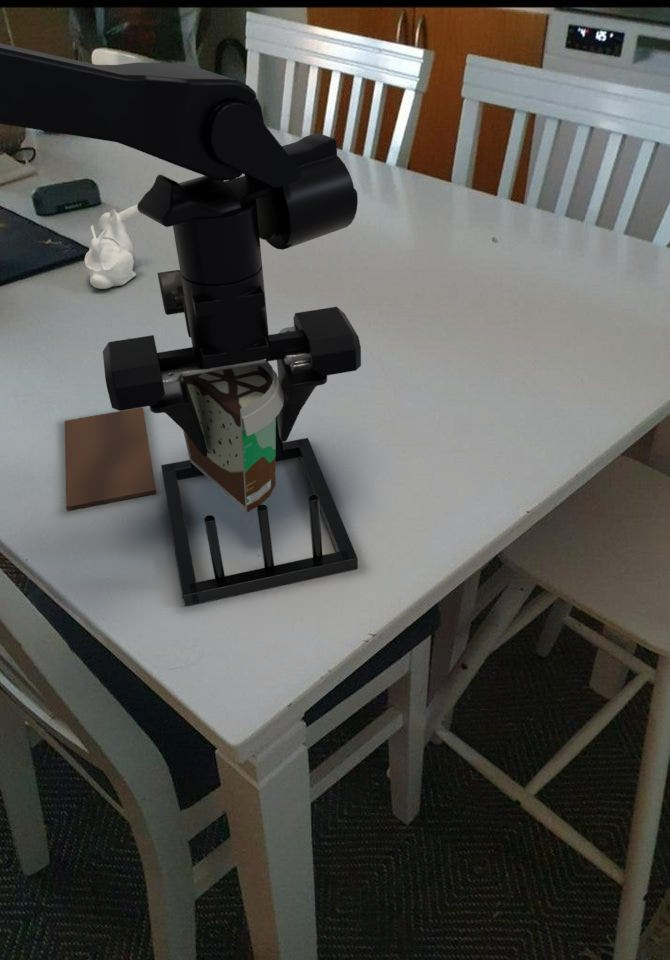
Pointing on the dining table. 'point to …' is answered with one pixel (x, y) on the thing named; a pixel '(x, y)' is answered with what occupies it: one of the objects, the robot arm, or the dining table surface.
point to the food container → (238, 430)
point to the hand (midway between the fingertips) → (244, 445)
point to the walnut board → (107, 459)
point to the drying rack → (270, 573)
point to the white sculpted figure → (111, 250)
